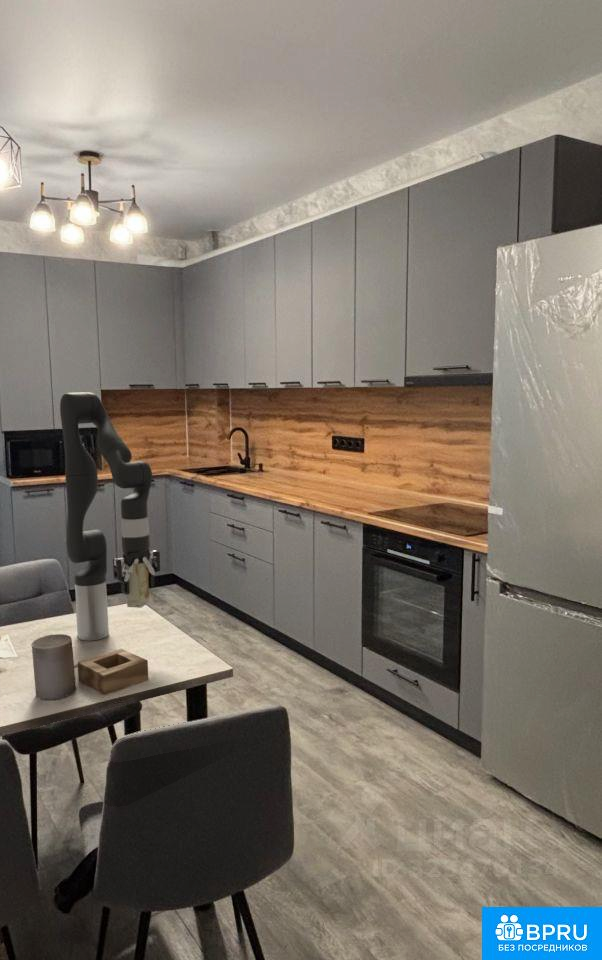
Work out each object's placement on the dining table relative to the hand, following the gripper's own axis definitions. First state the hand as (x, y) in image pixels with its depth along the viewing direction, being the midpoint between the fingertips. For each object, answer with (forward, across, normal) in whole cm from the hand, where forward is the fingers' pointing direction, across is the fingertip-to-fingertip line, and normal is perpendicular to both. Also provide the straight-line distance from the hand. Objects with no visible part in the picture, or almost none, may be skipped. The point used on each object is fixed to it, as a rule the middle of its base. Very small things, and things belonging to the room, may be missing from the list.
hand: (138, 590), depth 199 cm
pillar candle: (+20, +28, +4) cm, 34 cm away
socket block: (+20, +14, +8) cm, 25 cm away
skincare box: (+4, 0, 0) cm, 4 cm away
